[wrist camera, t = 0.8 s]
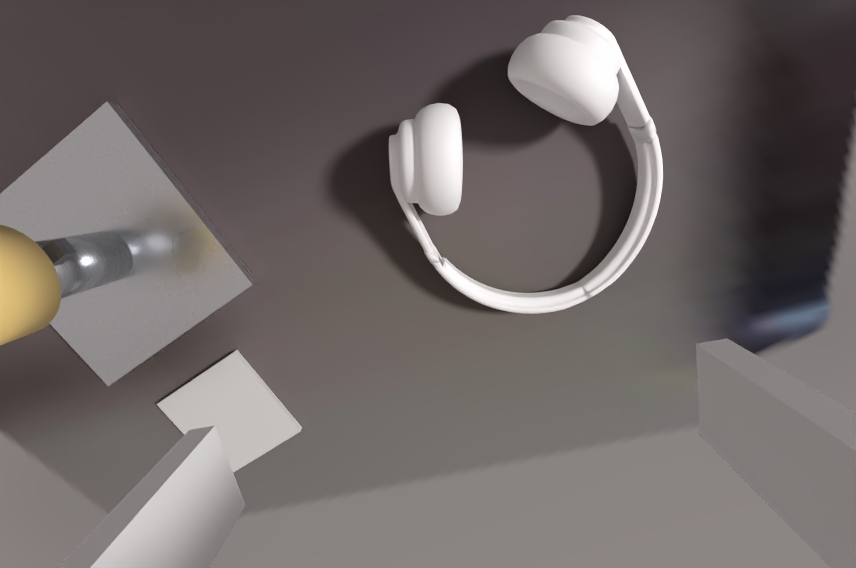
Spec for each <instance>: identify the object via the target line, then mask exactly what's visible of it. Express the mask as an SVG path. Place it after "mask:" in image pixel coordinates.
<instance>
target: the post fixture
mask: <svg viewBox="0 0 856 568" xmlns="http://www.w3.org/2000/svg"><path fill="white" fill-rule="evenodd" d="M0 225H4V226H7V227H10V228H13V229H15V230H17V231H19V232H21V233H23V234H25V235H26V236H28V237H29V238H31V239H32V240H33V241H34V242H36V243H37V244H38V245H39V246H40V247H41V248H42V249H43V250H44V252H45V253H46V254H47V255H48V257H49V258H50V260H51V261H52V263H53V265H54V267H55V269H56V271H57V274H58V277H59V280H60V285H61V302H60V306H59V309H58V312H57V314H56V316H55V317H54V319H53V320H52V321H51V322H50V324H51V326H52V327H53V328H54V329H55V330H56V331H57V332H58V333H59V334H60V335H61V336H62V337H63V338H64V339H65V341H66V342H67V343H68V344H69V345H70V346H71V347H72V348H73V349H74V350H75V351H76V352H77V353H78V355H79V356H80V357H81V358H82V359H83V360H84V361H85V362H86V363H87V364H88V365H89V366H90V367H91V369H92V370H93V371H94V372H95V373H96V374H97V375H98V376H99V377H100V378H101V379H102V380H103V381H104V382H105V384H106V385H107V386H110V385H111V384H113V383H114V382H116V381H118V380H119V379H120V378H122V377H123V376H125V375H126V374H128V373H129V372H130V371H132V370H133V369H135V368H136V367H138V366H139V365H140V364H142V363H143V362H145V361H146V360H147V359H149V358H150V357H152V356H153V355H155V354H156V353H157V352H159V351H160V350H162V349H163V348H164V347H166V346H167V345H169V344H170V343H172V342H173V341H174V340H176V339H177V338H179V337H180V336H182V335H183V334H184V333H186V332H187V331H189V330H190V329H191V328H193V327H194V326H196V325H197V324H199V323H200V322H201V321H203V320H204V319H206V318H207V317H208V316H210V315H211V314H213V313H214V312H216V311H217V310H218V309H220V308H221V307H223V306H224V305H226V304H227V303H228V302H230V301H231V300H233V299H234V298H235V297H237V296H238V295H240V294H241V293H243V292H244V291H245V290H247V289H248V288H250V287H251V286H252V285H254V284H255V283H257V282H258V280H257V279H256V278H255V276H254V275H253V274H252V273H251V271H250V270H249V269H248V267H247V266H246V265H245V264H244V262H243V261H242V260H241V259H240V257H239V256H238V255H237V254H236V252H235V251H234V250H233V248H232V247H231V246H230V245H229V243H228V242H227V241H226V240H225V238H224V237H223V236H222V234H221V233H220V232H219V231H218V229H217V228H216V227H215V226H214V224H213V223H212V222H211V221H210V219H209V218H208V217H207V215H206V214H205V213H204V212H203V210H202V209H201V208H200V207H199V205H198V204H197V203H196V202H195V200H194V199H193V198H192V196H191V195H190V194H189V193H188V191H187V190H186V189H185V188H184V186H183V185H182V184H181V183H180V181H179V180H178V179H177V177H176V176H175V175H174V174H173V172H172V171H171V170H170V169H169V167H168V166H167V165H166V163H165V162H164V161H163V160H162V158H161V157H160V156H159V155H158V153H157V152H156V151H155V150H154V148H153V147H152V146H151V144H150V143H149V142H148V141H147V139H146V138H145V137H144V136H143V134H142V133H141V132H140V131H139V129H138V128H137V127H136V125H135V124H134V123H133V122H132V120H131V119H130V118H129V117H128V115H127V114H126V113H125V112H124V110H123V109H122V108H121V106H120V105H119V104H117V103H112V102H108V101H107V102H106V103H105V104H103V105H102V106H101V107H100V108H99V109H98V110H97V111H95V112H94V113H93V114H92V115H91V116H90V117H88V118H87V119H86V120H85V121H84V122H83V123H82V124H80V125H79V126H78V127H77V128H76V129H75V130H73V131H72V132H71V133H70V134H69V135H68V136H67V137H65V138H64V139H63V140H62V141H61V142H60V143H58V144H57V145H56V146H55V147H54V148H53V149H52V150H50V151H49V152H48V153H47V154H46V155H45V156H43V157H42V158H41V159H40V160H39V161H38V162H37V163H35V164H34V165H33V166H32V167H31V168H30V169H28V170H27V171H26V172H25V173H24V174H23V175H21V176H20V177H19V178H18V179H17V180H16V181H15V182H13V183H12V184H11V185H10V186H9V187H8V188H6V189H5V190H4V191H3V192H2V193H1V194H0Z"/></svg>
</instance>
